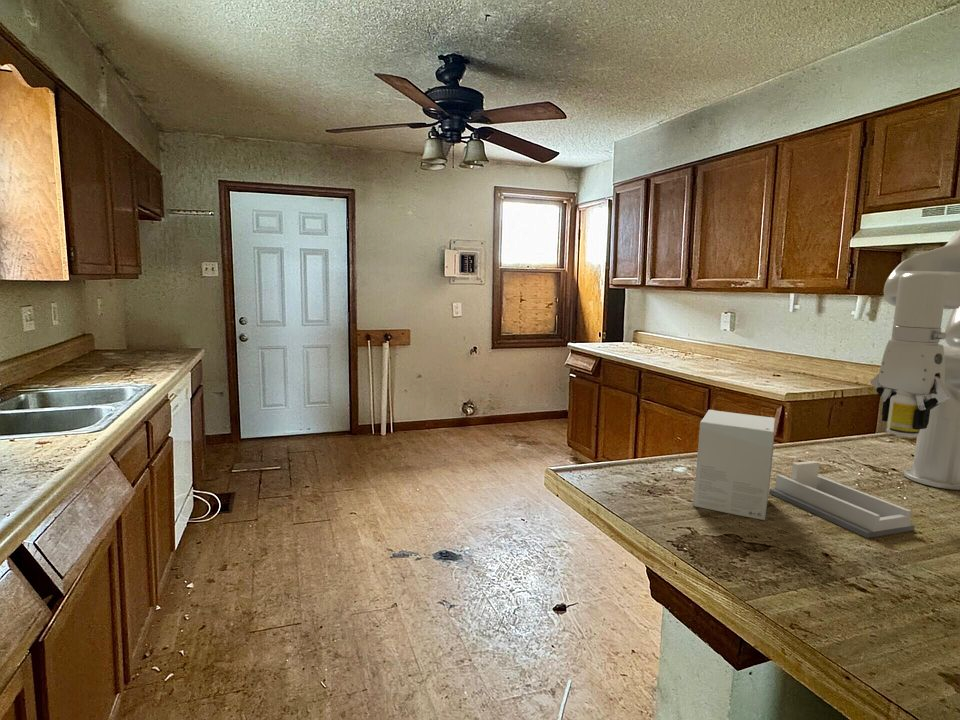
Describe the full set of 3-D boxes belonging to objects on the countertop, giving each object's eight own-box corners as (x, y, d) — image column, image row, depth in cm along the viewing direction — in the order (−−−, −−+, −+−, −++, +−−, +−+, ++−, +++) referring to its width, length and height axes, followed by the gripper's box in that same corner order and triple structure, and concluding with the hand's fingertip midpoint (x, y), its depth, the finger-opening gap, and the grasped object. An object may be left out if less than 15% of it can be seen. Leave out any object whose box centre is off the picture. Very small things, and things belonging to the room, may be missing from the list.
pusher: (811, 487, 124) (814, 460, 123) (816, 489, 123) (819, 462, 122) (789, 490, 122) (792, 462, 121) (794, 492, 121) (797, 464, 120)
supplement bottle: (924, 438, 114) (931, 389, 112) (893, 436, 115) (900, 388, 113) (910, 430, 119) (916, 384, 117) (881, 429, 120) (886, 382, 118)
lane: (811, 488, 127) (813, 470, 127) (914, 530, 107) (917, 509, 106) (769, 493, 123) (771, 475, 123) (867, 538, 103) (870, 516, 102)
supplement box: (768, 499, 120) (777, 417, 118) (765, 521, 109) (775, 431, 106) (700, 486, 126) (707, 408, 124) (691, 506, 115) (699, 421, 112)
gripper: (977, 340, 107) (963, 434, 110) (886, 330, 123) (876, 413, 126) (949, 341, 104) (935, 438, 107) (860, 331, 120) (850, 415, 123)
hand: (903, 423), depth 116 cm, fingers closed on supplement bottle, 5 cm apart
